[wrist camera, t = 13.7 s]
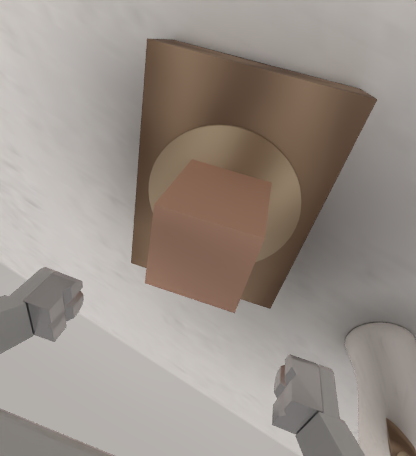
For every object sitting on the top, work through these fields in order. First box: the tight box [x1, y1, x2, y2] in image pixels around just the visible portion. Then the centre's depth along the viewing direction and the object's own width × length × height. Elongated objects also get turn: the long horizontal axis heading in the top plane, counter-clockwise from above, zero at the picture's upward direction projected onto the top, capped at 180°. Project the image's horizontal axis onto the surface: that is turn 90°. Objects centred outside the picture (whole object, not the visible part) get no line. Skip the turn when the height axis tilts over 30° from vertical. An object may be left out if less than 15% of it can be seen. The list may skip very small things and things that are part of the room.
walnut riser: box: [131, 39, 377, 308], centre depth 20 cm, size 12×16×4 cm
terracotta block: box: [145, 159, 272, 313], centre depth 16 cm, size 5×5×6 cm
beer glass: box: [345, 322, 416, 456], centre depth 22 cm, size 7×7×15 cm
